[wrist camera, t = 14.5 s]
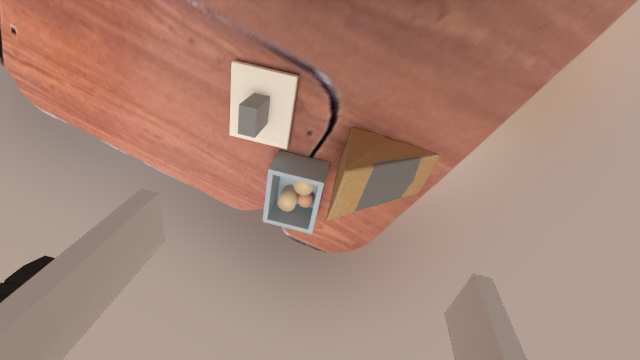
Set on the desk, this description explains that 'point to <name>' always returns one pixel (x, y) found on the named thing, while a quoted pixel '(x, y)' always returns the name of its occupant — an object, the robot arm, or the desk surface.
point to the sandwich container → (377, 172)
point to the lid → (262, 104)
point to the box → (294, 191)
